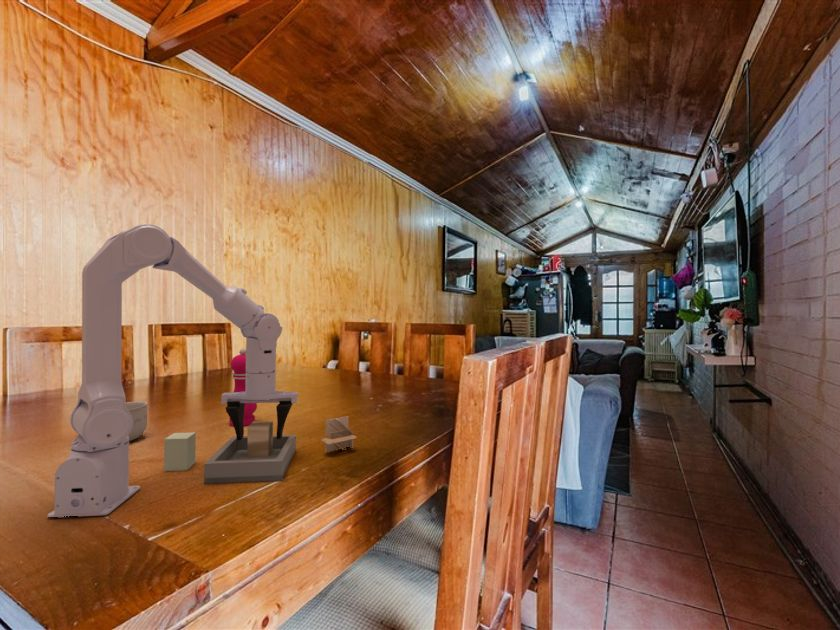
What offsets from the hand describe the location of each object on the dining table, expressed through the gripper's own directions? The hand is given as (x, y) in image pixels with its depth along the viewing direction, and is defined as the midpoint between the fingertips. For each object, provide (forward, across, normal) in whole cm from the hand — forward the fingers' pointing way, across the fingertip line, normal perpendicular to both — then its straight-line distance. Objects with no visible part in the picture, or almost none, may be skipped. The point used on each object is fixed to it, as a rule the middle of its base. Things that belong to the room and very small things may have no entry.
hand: (259, 438), depth 85 cm
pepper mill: (+4, +11, -28) cm, 30 cm away
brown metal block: (+3, 0, 0) cm, 3 cm away
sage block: (+4, +14, +3) cm, 15 cm away
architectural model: (+5, -16, -3) cm, 17 cm away
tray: (+4, 0, +4) cm, 6 cm away
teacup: (+4, +34, -17) cm, 38 cm away
